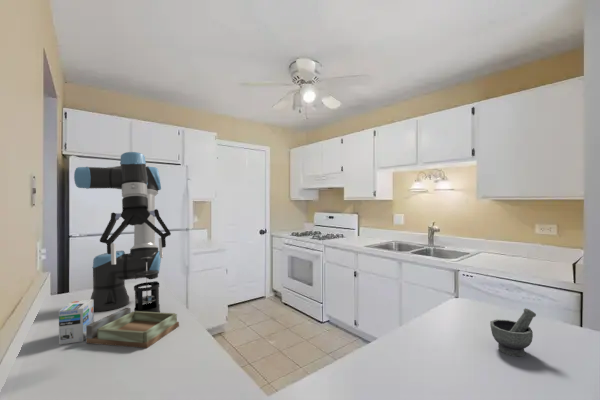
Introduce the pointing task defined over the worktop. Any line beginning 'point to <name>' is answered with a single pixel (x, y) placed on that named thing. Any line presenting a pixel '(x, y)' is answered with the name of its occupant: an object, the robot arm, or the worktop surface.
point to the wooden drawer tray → (131, 328)
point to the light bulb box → (75, 321)
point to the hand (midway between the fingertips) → (138, 261)
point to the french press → (150, 301)
